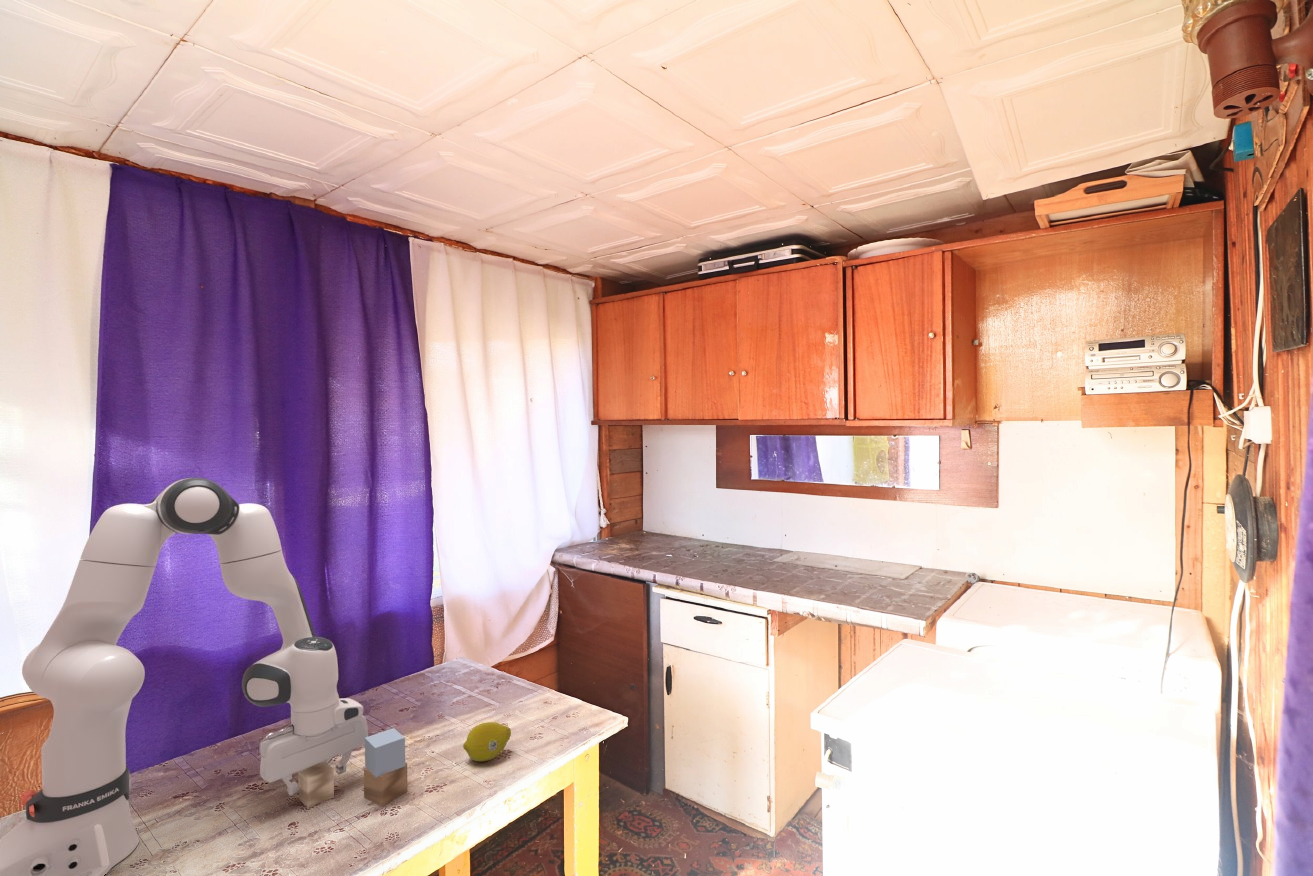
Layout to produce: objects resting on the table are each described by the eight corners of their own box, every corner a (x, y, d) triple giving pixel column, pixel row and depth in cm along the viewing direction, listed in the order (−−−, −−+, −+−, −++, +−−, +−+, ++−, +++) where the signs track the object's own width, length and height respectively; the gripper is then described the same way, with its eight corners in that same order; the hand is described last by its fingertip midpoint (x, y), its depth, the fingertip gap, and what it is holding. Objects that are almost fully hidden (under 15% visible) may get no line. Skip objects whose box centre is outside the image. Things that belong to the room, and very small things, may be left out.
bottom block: (382, 806, 126) (381, 777, 125) (364, 797, 129) (363, 768, 129) (407, 791, 131) (407, 763, 131) (389, 783, 134) (389, 755, 134)
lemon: (464, 771, 138) (464, 736, 138) (462, 754, 145) (461, 720, 145) (513, 761, 142) (513, 727, 142) (509, 745, 149) (508, 712, 149)
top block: (375, 777, 125) (375, 748, 125) (365, 766, 130) (364, 737, 130) (405, 766, 129) (404, 737, 129) (394, 755, 134) (393, 728, 134)
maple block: (308, 808, 125) (307, 778, 125) (298, 799, 129) (298, 770, 128) (333, 797, 129) (333, 768, 129) (324, 788, 132) (323, 760, 132)
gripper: (264, 742, 119) (266, 812, 119) (370, 704, 135) (372, 767, 135) (253, 731, 123) (255, 800, 124) (357, 696, 139) (359, 757, 139)
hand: (317, 782), depth 129 cm, fingers open, 8 cm apart
